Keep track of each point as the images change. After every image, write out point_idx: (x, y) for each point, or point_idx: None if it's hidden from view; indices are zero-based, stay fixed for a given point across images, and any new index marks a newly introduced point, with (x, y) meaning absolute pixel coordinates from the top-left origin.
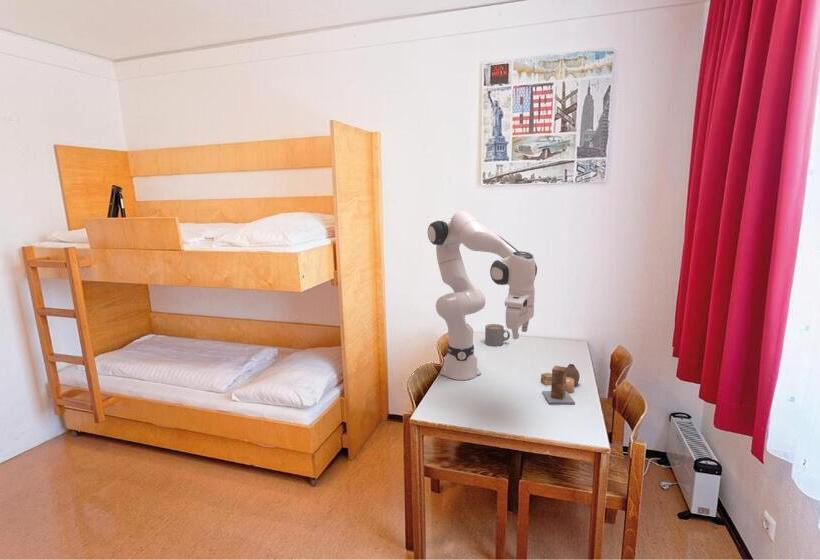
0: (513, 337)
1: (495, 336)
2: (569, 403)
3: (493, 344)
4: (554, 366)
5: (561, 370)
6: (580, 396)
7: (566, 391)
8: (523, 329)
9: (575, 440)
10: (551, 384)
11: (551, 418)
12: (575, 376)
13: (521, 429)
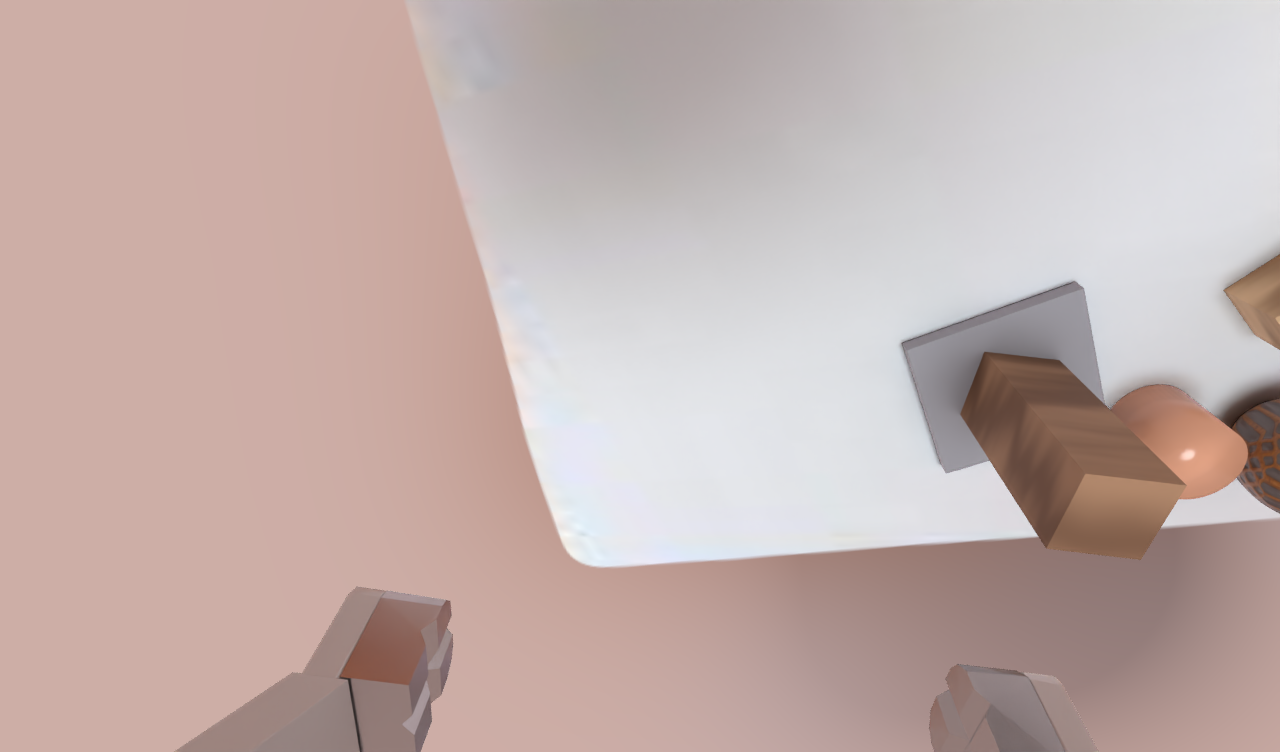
0: (346, 613)
1: None
2: (936, 444)
3: None
4: (1155, 483)
5: (1062, 533)
6: None
7: None
8: (972, 735)
9: (556, 483)
10: (1246, 320)
11: (725, 374)
12: (1265, 499)
13: (526, 248)
